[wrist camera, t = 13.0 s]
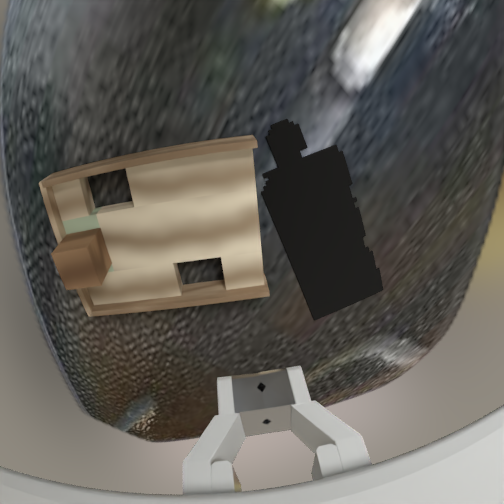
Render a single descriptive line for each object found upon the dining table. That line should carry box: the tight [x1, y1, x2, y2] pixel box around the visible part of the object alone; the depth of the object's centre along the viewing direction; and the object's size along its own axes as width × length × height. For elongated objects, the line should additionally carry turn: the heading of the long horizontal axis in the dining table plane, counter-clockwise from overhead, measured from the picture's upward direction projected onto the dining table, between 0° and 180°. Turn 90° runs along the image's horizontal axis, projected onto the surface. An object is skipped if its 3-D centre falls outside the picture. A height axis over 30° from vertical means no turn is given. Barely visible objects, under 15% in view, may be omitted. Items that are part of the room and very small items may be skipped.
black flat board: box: [261, 119, 383, 320], centre depth 41 cm, size 12×1×30 cm
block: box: [51, 228, 112, 290], centre depth 34 cm, size 5×5×5 cm
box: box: [39, 135, 270, 317], centre depth 37 cm, size 20×25×4 cm
